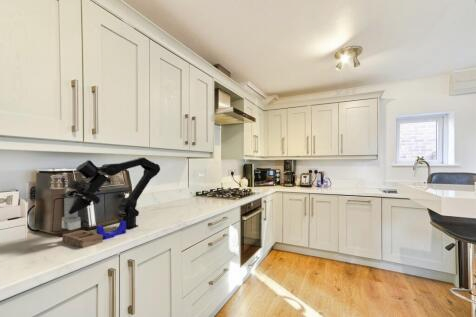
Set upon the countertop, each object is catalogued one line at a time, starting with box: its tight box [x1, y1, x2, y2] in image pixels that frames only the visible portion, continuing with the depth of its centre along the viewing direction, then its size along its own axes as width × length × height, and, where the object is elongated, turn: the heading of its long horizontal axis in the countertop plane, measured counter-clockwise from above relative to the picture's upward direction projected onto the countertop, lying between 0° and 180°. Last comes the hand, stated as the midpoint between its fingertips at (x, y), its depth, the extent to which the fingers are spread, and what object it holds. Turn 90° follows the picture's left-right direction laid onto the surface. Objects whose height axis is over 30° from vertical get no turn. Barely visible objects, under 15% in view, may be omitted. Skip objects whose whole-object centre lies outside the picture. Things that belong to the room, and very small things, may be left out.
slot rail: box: [61, 229, 104, 249], centre depth 97 cm, size 16×8×3 cm, turn 63°
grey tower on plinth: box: [61, 196, 82, 231], centre depth 96 cm, size 7×4×13 cm, turn 62°
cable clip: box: [95, 220, 127, 241], centre depth 105 cm, size 12×4×6 cm, turn 144°
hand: (67, 213), depth 95 cm, fingers closed on grey tower on plinth, 3 cm apart
